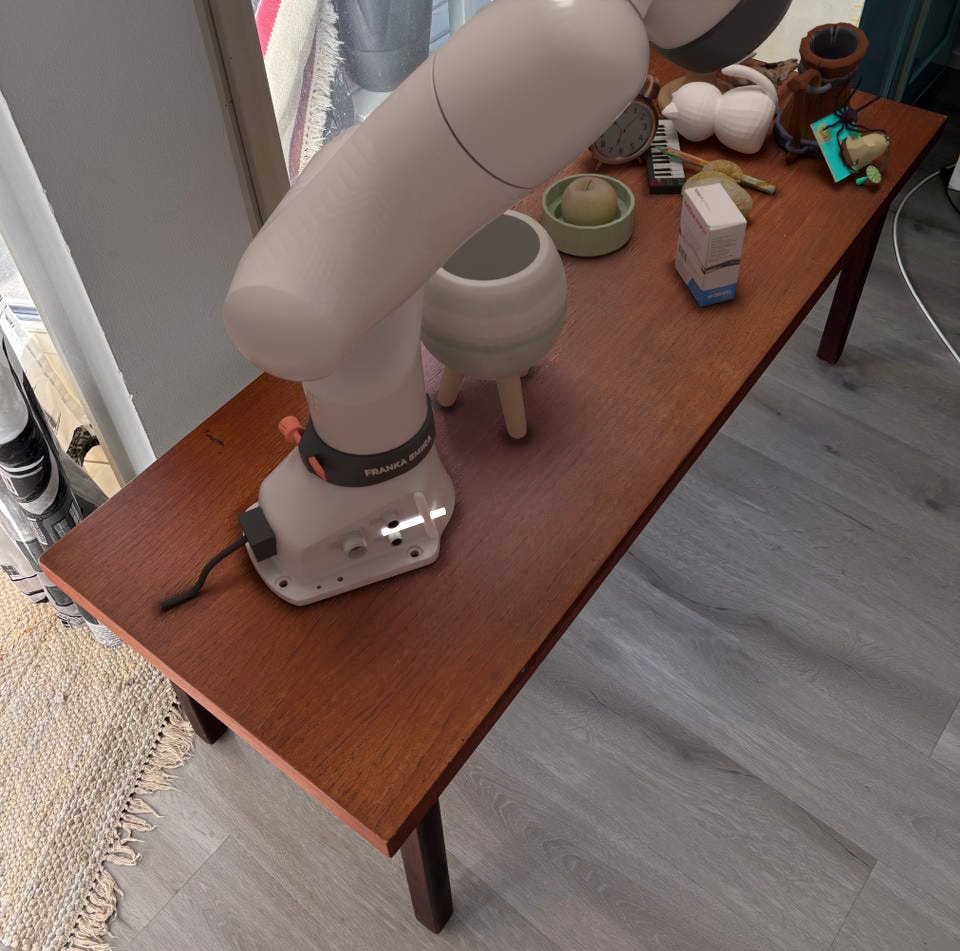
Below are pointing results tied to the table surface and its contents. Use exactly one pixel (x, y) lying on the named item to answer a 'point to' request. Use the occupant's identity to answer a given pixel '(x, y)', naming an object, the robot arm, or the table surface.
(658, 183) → the midi keyboard
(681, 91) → the cat figurine
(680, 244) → the ink box
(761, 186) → the pencil
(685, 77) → the candle holder
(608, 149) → the alarm clock
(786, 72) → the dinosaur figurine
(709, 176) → the seashell
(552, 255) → the planter
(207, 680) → the table surface
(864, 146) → the diorama
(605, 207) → the fruit
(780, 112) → the mug
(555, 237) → the bowl
